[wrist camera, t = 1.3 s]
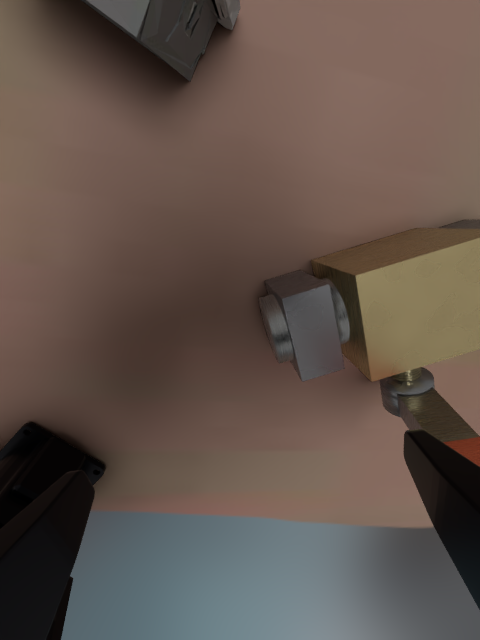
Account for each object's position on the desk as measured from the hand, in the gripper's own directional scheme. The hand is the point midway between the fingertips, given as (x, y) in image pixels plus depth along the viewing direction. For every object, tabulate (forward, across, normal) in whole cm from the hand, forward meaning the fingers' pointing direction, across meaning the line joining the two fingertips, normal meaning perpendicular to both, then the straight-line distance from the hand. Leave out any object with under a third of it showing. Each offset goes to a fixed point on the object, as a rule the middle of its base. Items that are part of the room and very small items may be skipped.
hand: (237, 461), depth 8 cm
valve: (+13, -8, +2) cm, 16 cm away
